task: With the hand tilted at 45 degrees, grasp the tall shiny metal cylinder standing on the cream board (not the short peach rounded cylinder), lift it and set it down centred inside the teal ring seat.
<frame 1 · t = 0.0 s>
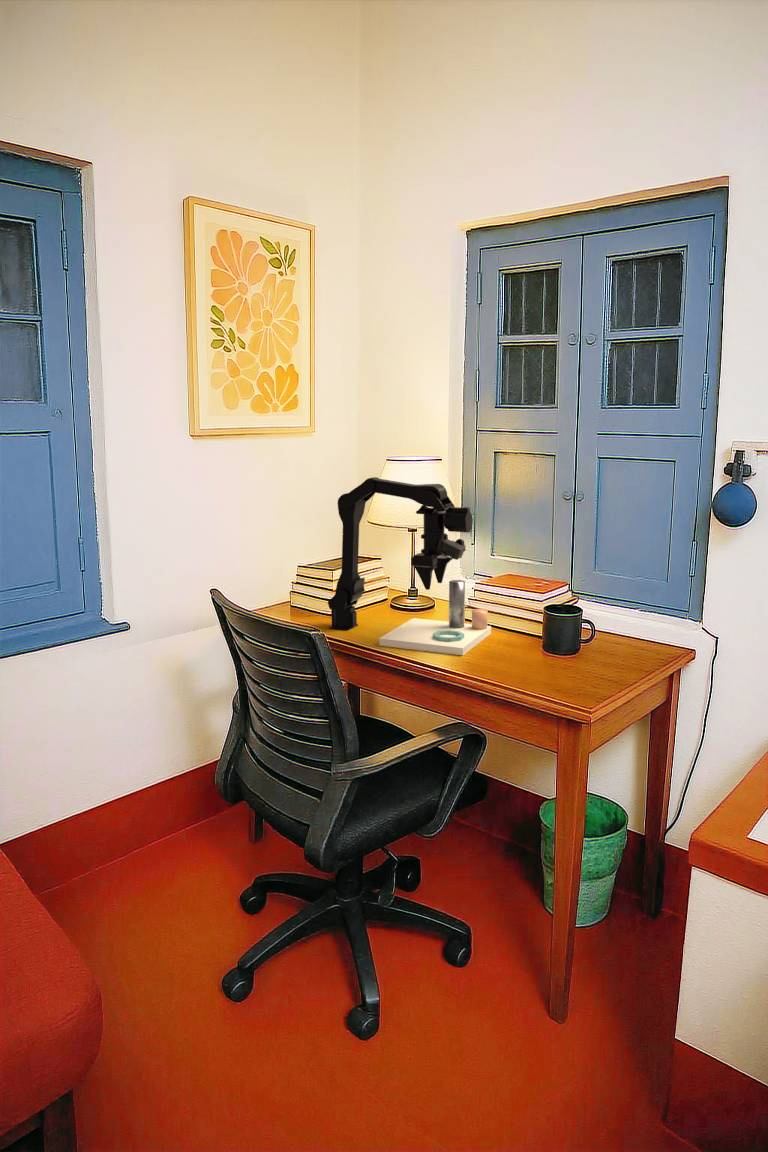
hand: (433, 586, 244), 14 cm above the table, tool pointing down, fingers open, 9 cm apart
shiny metal cylinder: (456, 626, 249), point 2 cm above the table, touching board
board: (436, 639, 244), on the table
peach rounded cylinder: (479, 627, 248), point 2 cm above the table, touching board
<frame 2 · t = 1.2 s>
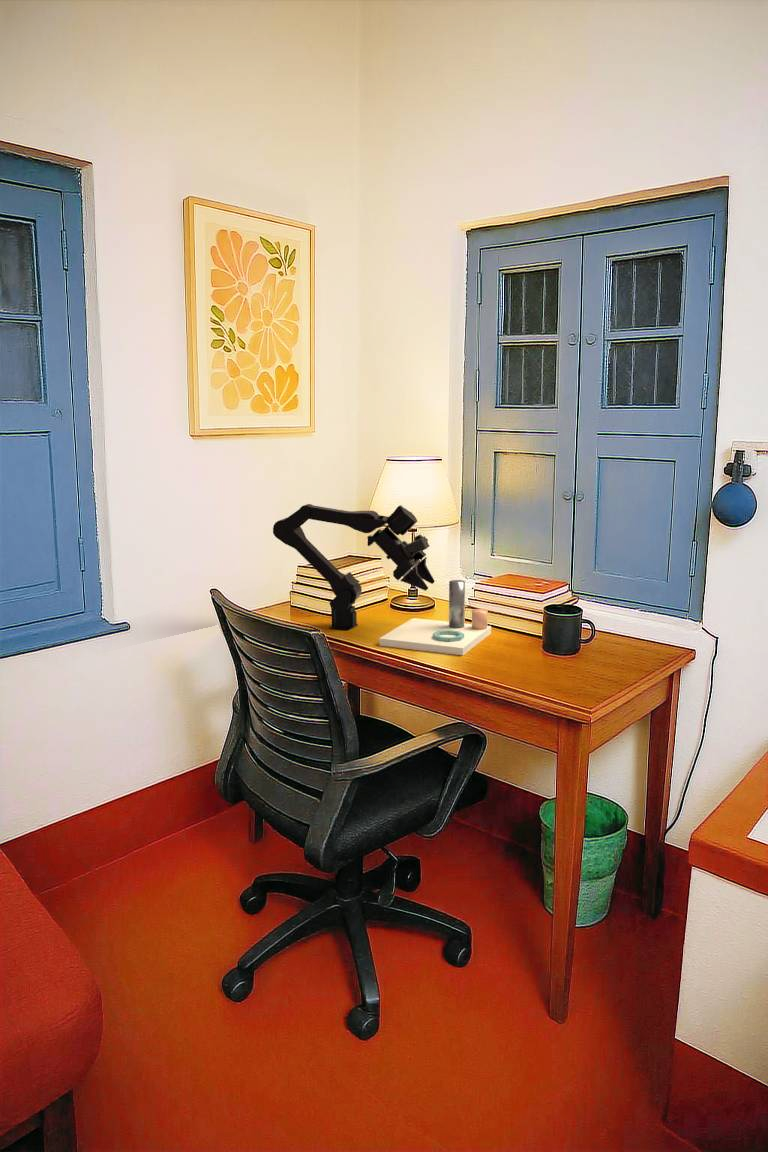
hand: (430, 586, 249), 13 cm above the table, tool tilted 45°, fingers open, 9 cm apart
nothing on the table moved.
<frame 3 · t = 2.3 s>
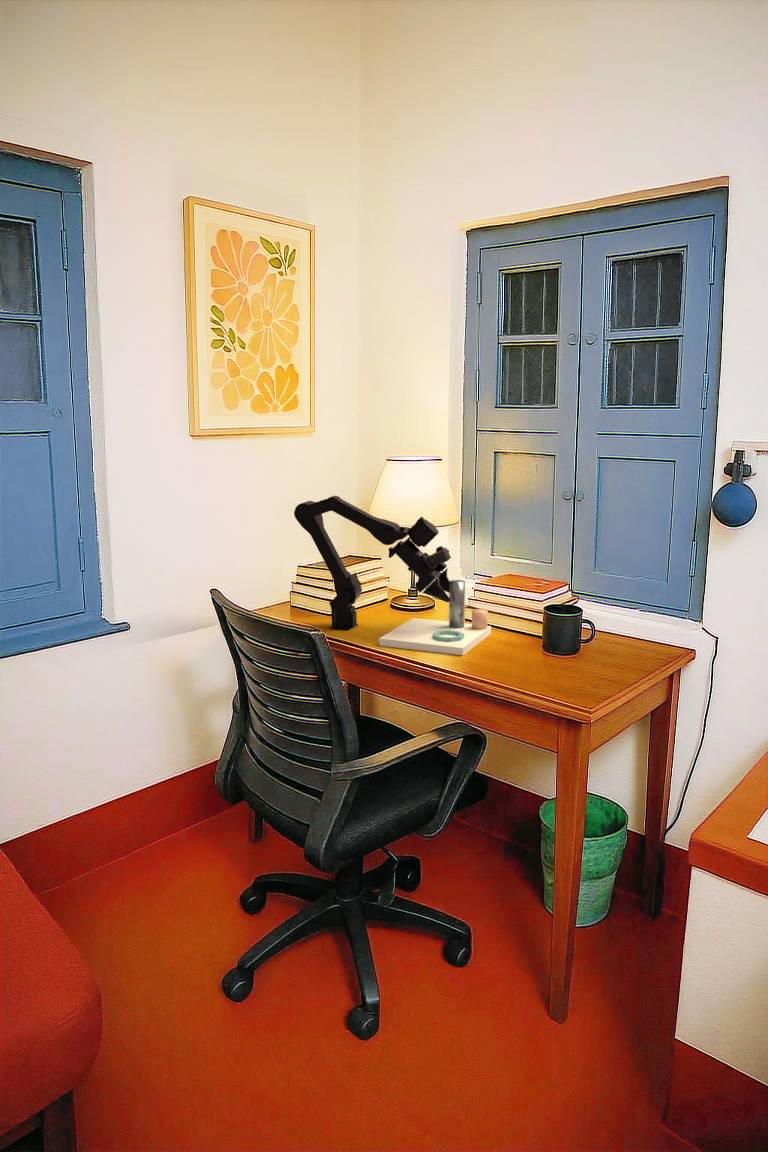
hand: (452, 597, 248), 10 cm above the table, tool tilted 45°, fingers open, 9 cm apart
nothing on the table moved.
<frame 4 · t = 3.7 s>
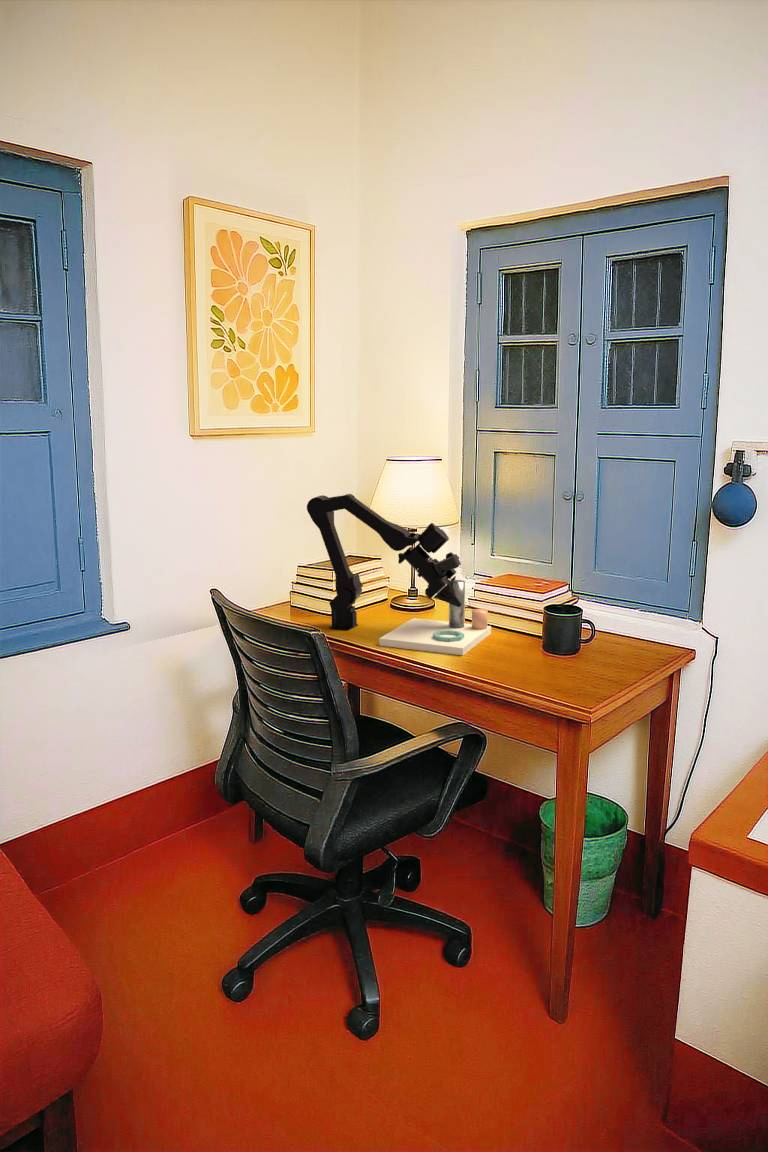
hand: (461, 604, 248), 9 cm above the table, tool tilted 45°, fingers closed on shiny metal cylinder, 4 cm apart
shiny metal cylinder: (456, 626, 249), point 2 cm above the table, touching board, gripper
everything else where it was.
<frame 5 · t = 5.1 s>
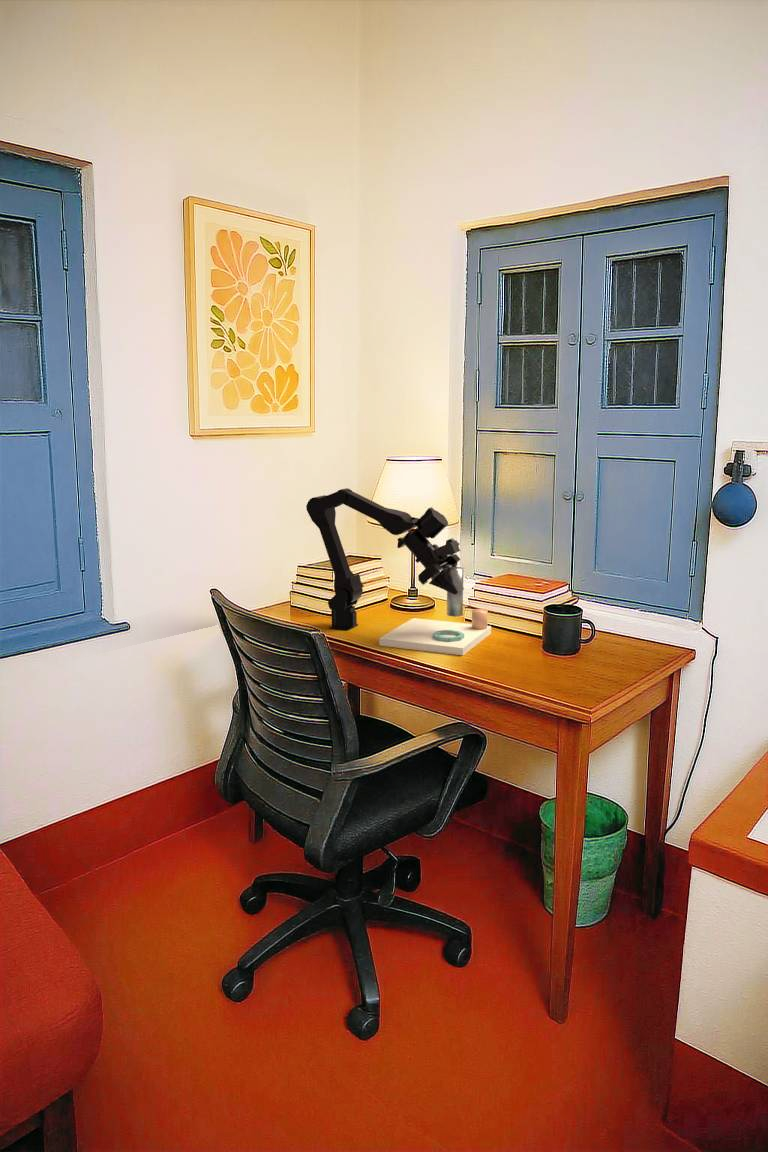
hand: (459, 591, 241), 14 cm above the table, tool tilted 45°, fingers closed on shiny metal cylinder, 4 cm apart
shiny metal cylinder: (454, 614, 243), point 7 cm above the table, touching gripper
everything else where it was.
when the fingers open (10 cm above the table, at t = 6.7 s): shiny metal cylinder drops 1 cm, resting on board.
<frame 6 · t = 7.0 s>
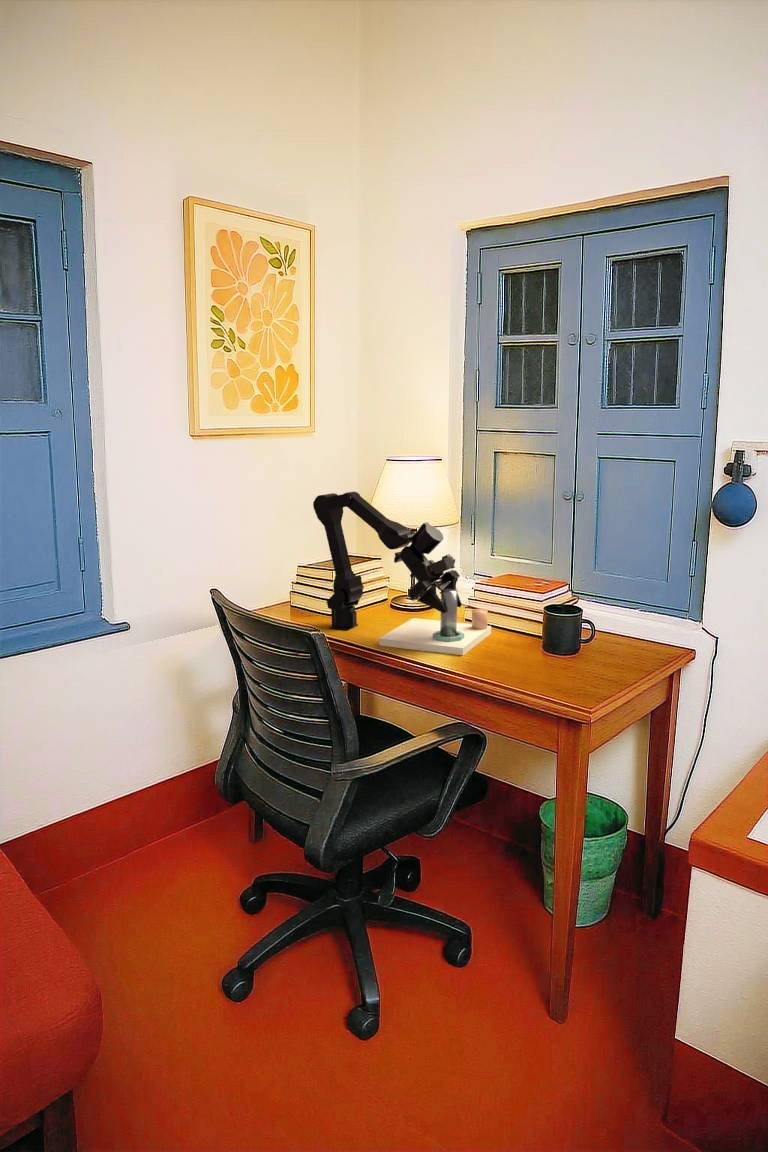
hand: (453, 609, 236), 10 cm above the table, tool tilted 45°, fingers open, 8 cm apart
shiny metal cylinder: (448, 637, 238), point 2 cm above the table, touching board
everything else where it was.
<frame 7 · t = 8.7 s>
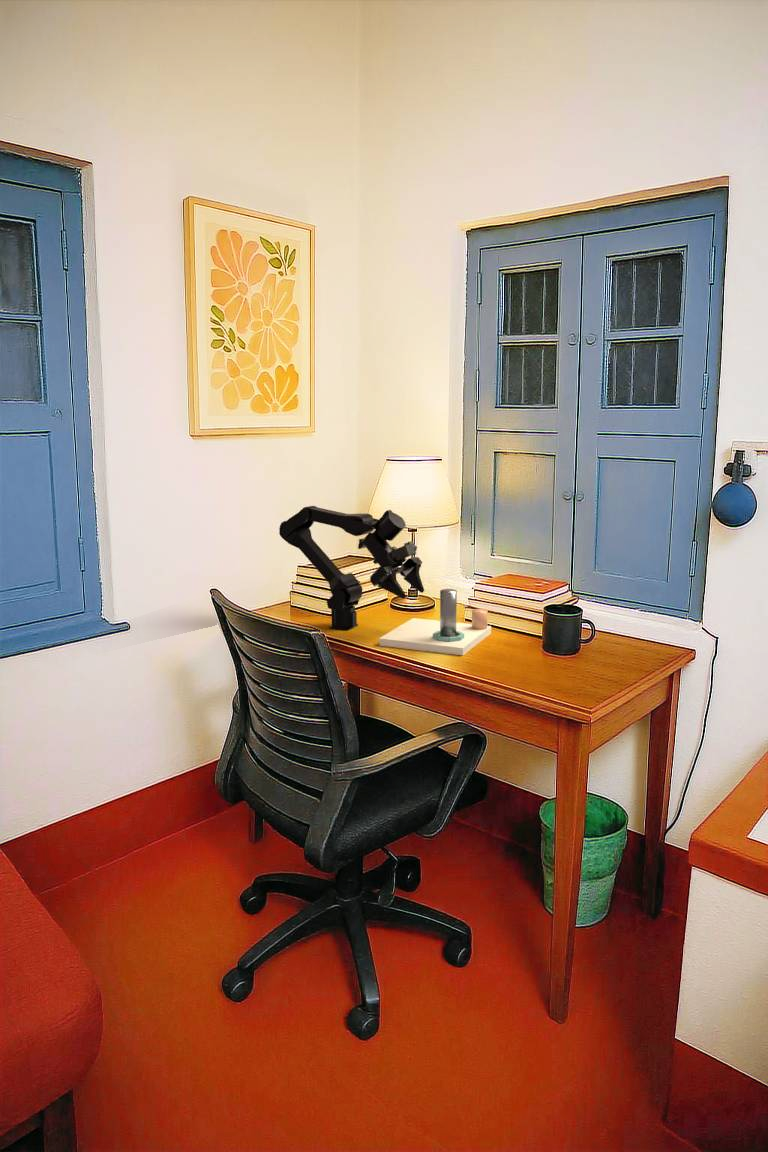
hand: (414, 594, 242), 13 cm above the table, tool tilted 45°, fingers open, 9 cm apart
nothing on the table moved.
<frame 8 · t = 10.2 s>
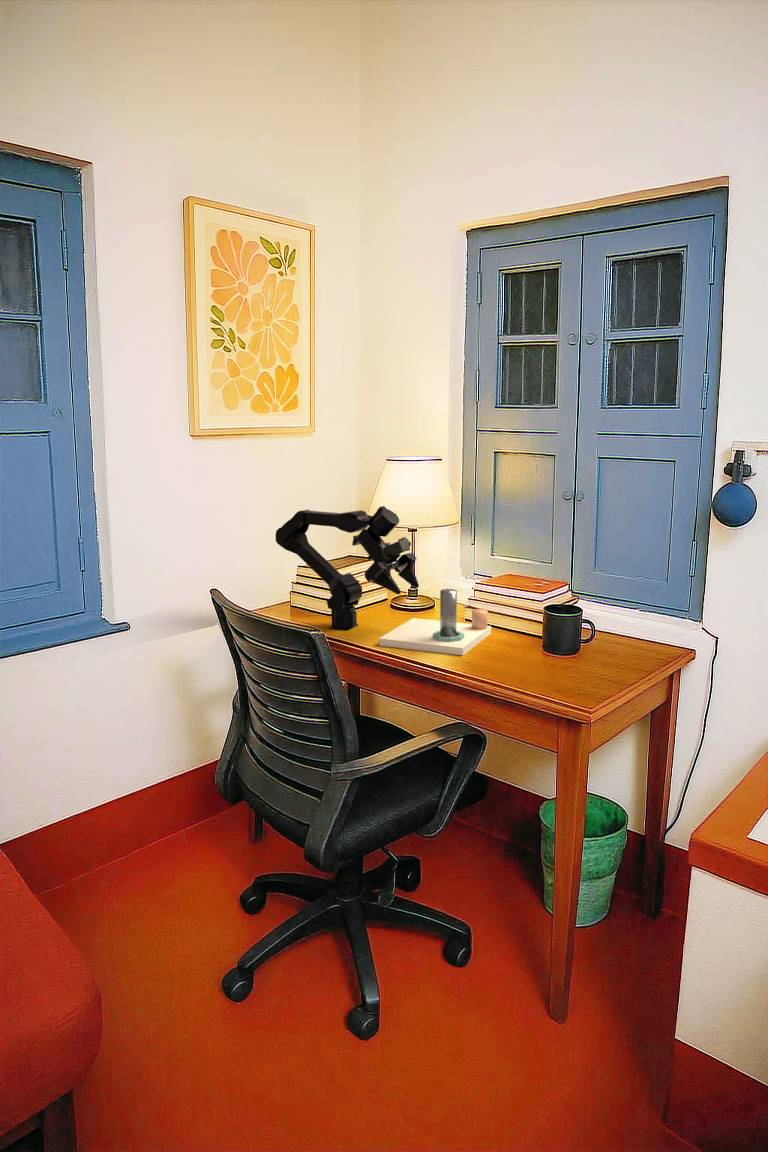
hand: (408, 590, 243), 14 cm above the table, tool tilted 45°, fingers open, 9 cm apart
nothing on the table moved.
at the end: shiny metal cylinder 0.1 cm from the target spot, point 2.0 cm above the table; shiny metal cylinder tilted 0°; the gripper is holding nothing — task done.
